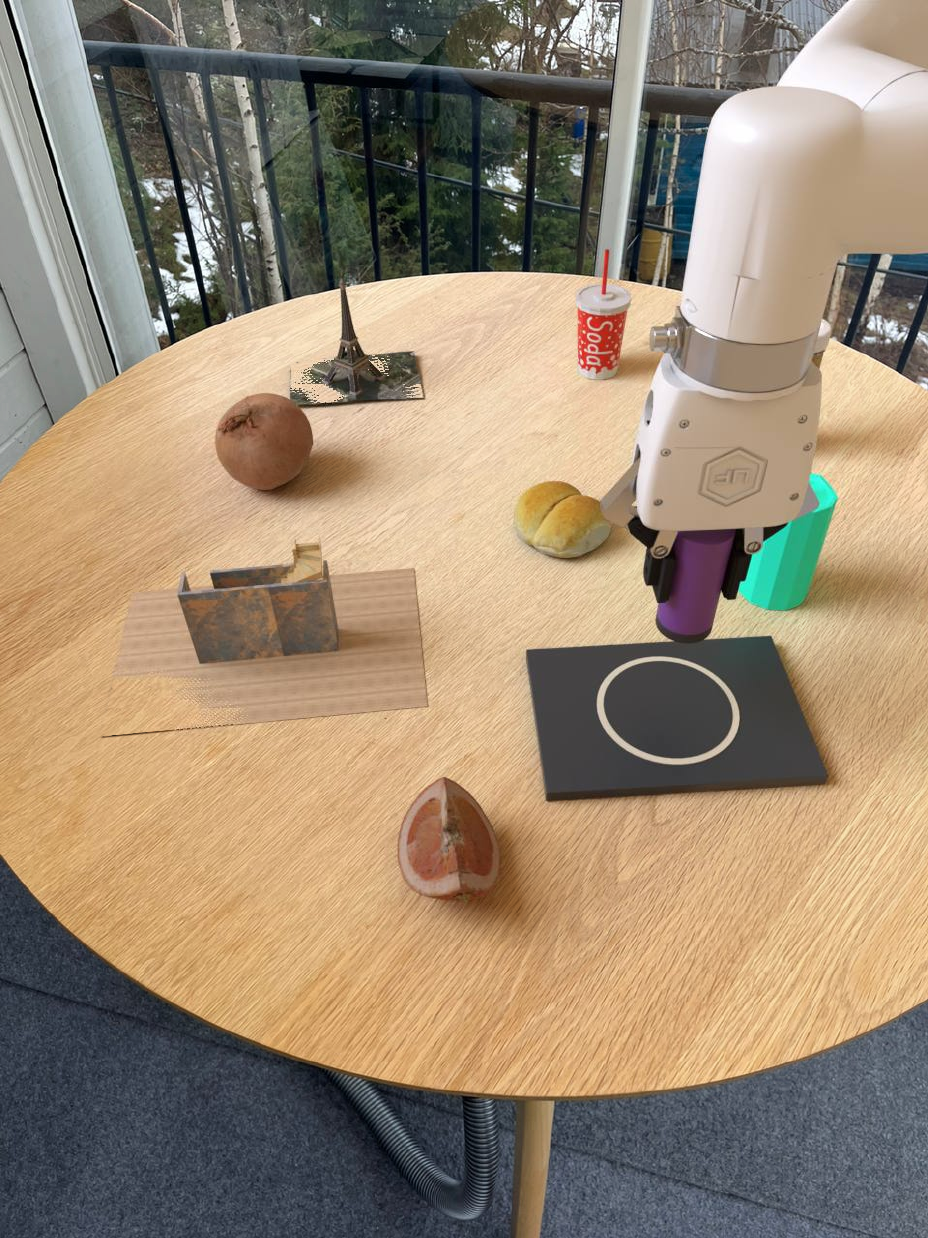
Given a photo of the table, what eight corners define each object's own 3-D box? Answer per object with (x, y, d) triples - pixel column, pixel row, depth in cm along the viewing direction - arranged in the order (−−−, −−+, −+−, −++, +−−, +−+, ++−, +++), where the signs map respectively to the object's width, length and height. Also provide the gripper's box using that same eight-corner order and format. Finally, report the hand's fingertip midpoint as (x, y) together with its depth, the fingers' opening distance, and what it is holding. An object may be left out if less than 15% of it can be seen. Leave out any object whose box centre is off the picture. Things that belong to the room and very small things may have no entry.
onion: (259, 523, 95) (210, 472, 86) (232, 455, 99) (182, 400, 90) (341, 477, 94) (300, 422, 85) (311, 411, 98) (268, 352, 89)
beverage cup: (560, 373, 108) (567, 254, 99) (587, 351, 112) (595, 233, 102) (607, 388, 106) (619, 267, 96) (633, 365, 109) (646, 246, 100)
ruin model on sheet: (413, 568, 85) (406, 479, 78) (427, 706, 73) (420, 616, 66) (131, 592, 83) (99, 504, 76) (100, 737, 71) (58, 649, 65)
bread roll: (555, 491, 92) (557, 457, 90) (623, 534, 87) (627, 499, 85) (492, 526, 89) (492, 492, 86) (559, 573, 84) (562, 538, 81)
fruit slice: (510, 921, 60) (511, 880, 56) (405, 935, 59) (400, 895, 56) (490, 811, 66) (490, 768, 62) (395, 823, 65) (389, 781, 62)
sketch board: (769, 643, 77) (771, 634, 76) (825, 784, 67) (829, 775, 66) (525, 657, 76) (525, 648, 76) (546, 801, 66) (546, 792, 66)
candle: (803, 617, 79) (840, 503, 71) (731, 601, 80) (758, 488, 72) (810, 572, 83) (846, 459, 74) (741, 558, 84) (768, 446, 76)
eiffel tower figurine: (416, 354, 112) (409, 243, 103) (424, 398, 105) (417, 283, 96) (290, 365, 111) (271, 254, 102) (290, 410, 104) (270, 295, 95)
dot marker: (704, 603, 69) (726, 505, 63) (718, 642, 66) (743, 543, 60) (650, 606, 69) (667, 507, 62) (661, 645, 66) (680, 546, 60)
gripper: (604, 384, 49) (578, 632, 62) (918, 372, 50) (828, 620, 62) (583, 318, 55) (563, 558, 67) (866, 307, 55) (793, 548, 68)
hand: (691, 586), depth 65 cm, fingers closed on dot marker, 4 cm apart
